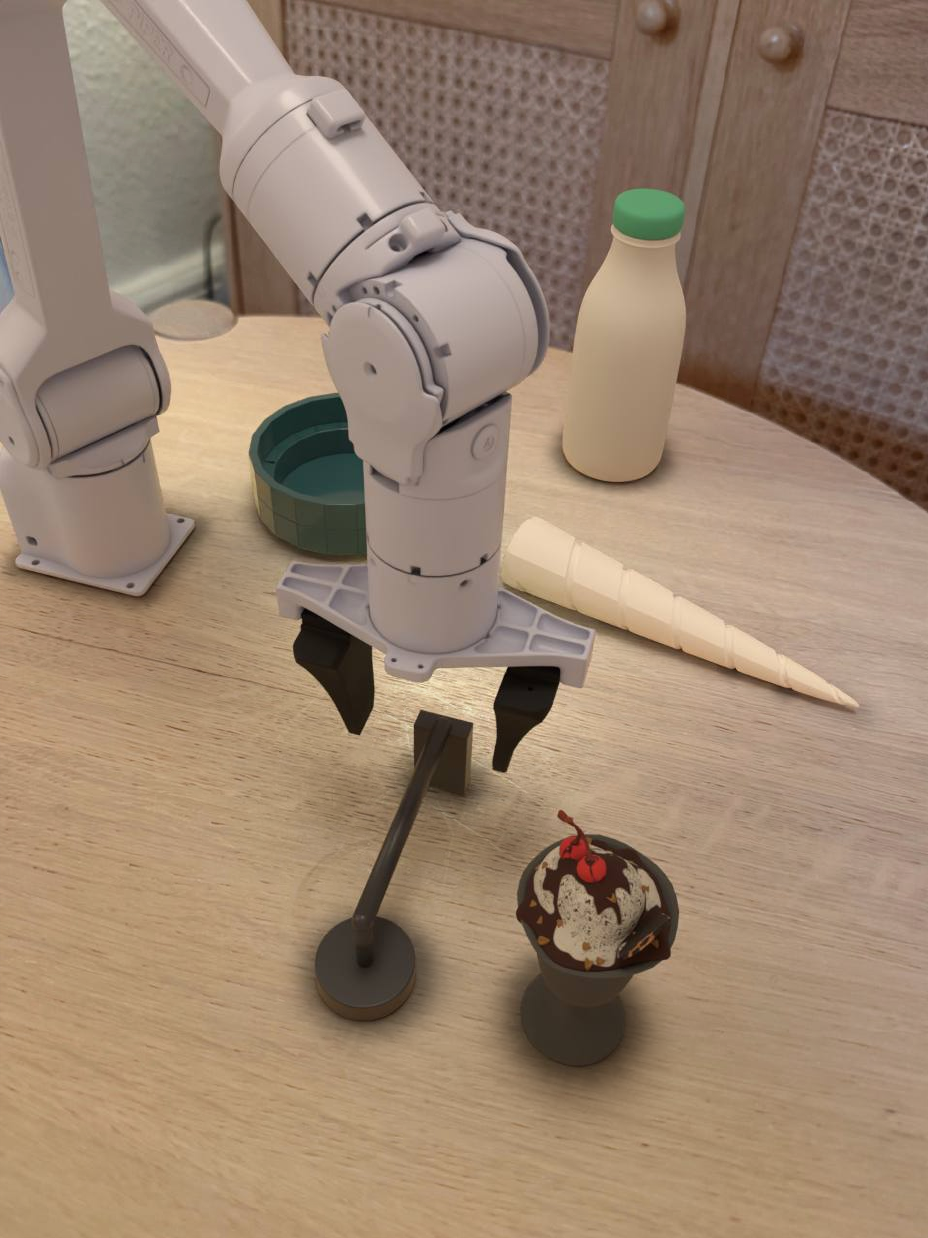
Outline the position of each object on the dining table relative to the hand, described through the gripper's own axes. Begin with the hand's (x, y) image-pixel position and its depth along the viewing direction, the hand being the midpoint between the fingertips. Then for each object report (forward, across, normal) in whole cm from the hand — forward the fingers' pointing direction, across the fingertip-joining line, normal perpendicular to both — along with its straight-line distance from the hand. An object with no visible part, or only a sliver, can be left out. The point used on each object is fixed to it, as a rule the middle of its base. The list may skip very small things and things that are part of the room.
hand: (431, 738), depth 55 cm
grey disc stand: (+6, 0, -5) cm, 8 cm away
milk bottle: (+7, +3, +36) cm, 37 cm away
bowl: (+6, -14, +24) cm, 28 cm away
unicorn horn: (+7, +10, +18) cm, 22 cm away
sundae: (+7, +10, -9) cm, 15 cm away
